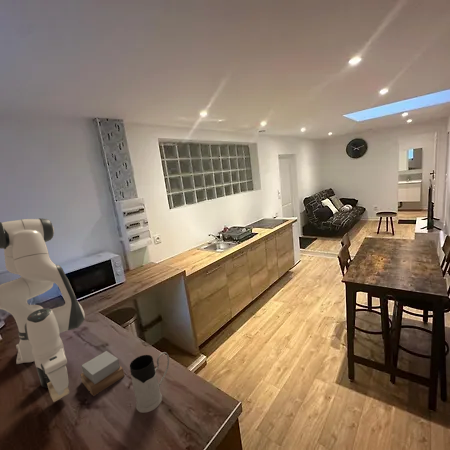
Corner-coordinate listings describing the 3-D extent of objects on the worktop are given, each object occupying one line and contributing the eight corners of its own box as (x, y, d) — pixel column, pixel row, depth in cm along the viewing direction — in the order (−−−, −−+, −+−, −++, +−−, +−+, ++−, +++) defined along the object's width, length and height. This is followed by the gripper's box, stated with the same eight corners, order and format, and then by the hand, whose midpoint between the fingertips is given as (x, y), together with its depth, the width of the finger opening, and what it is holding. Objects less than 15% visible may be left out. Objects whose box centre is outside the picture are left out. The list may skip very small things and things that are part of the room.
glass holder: (131, 403, 89) (123, 364, 86) (167, 378, 98) (160, 342, 96) (143, 417, 82) (134, 375, 80) (180, 389, 92) (173, 351, 90)
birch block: (50, 395, 94) (46, 383, 93) (65, 386, 97) (62, 374, 96) (53, 402, 90) (50, 389, 89) (69, 393, 94) (66, 380, 93)
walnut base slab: (82, 383, 102) (80, 374, 102) (112, 365, 111) (110, 357, 110) (93, 397, 94) (91, 387, 93) (124, 377, 103) (122, 368, 102)
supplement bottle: (64, 374, 108) (58, 348, 107) (54, 386, 102) (47, 359, 100) (48, 376, 108) (41, 350, 107) (37, 389, 102) (29, 362, 100)
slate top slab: (83, 374, 101) (81, 365, 101) (108, 359, 109) (106, 350, 108) (94, 384, 95) (92, 374, 94) (120, 367, 102) (118, 358, 102)
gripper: (33, 349, 96) (41, 381, 98) (46, 372, 82) (55, 409, 84) (52, 340, 101) (60, 371, 103) (68, 360, 86) (76, 396, 89)
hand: (58, 389), depth 93 cm, fingers closed on birch block, 5 cm apart
